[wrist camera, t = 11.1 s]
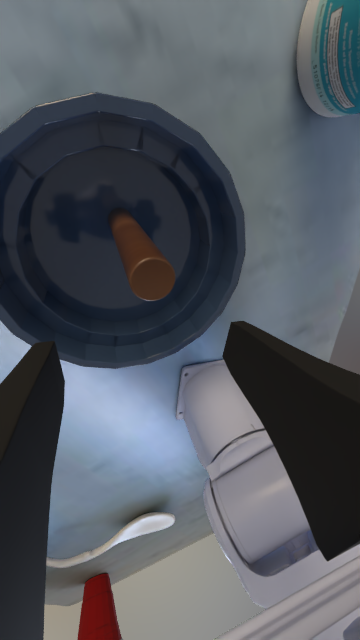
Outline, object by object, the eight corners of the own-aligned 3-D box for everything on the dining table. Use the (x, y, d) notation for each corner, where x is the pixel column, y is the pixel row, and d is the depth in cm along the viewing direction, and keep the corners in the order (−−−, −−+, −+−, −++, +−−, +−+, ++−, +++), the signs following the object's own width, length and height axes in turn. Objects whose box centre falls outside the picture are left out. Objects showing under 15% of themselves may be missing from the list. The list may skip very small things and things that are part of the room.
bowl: (201, 324, 24) (221, 352, 20) (30, 343, 19) (17, 384, 15) (233, 134, 15) (276, 127, 12) (-55, 85, 11) (-124, 49, 7)
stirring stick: (132, 233, 16) (173, 300, 8) (108, 232, 16) (129, 303, 8) (132, 208, 15) (178, 257, 8) (107, 206, 15) (129, 257, 7)
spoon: (-24, 560, 35) (-33, 593, 33) (175, 497, 47) (180, 518, 44) (-9, 576, 40) (-16, 606, 37) (168, 515, 51) (173, 535, 48)
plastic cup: (68, 593, 59) (65, 675, 50) (79, 577, 55) (78, 663, 46) (110, 579, 65) (114, 651, 55) (123, 564, 60) (130, 638, 51)
